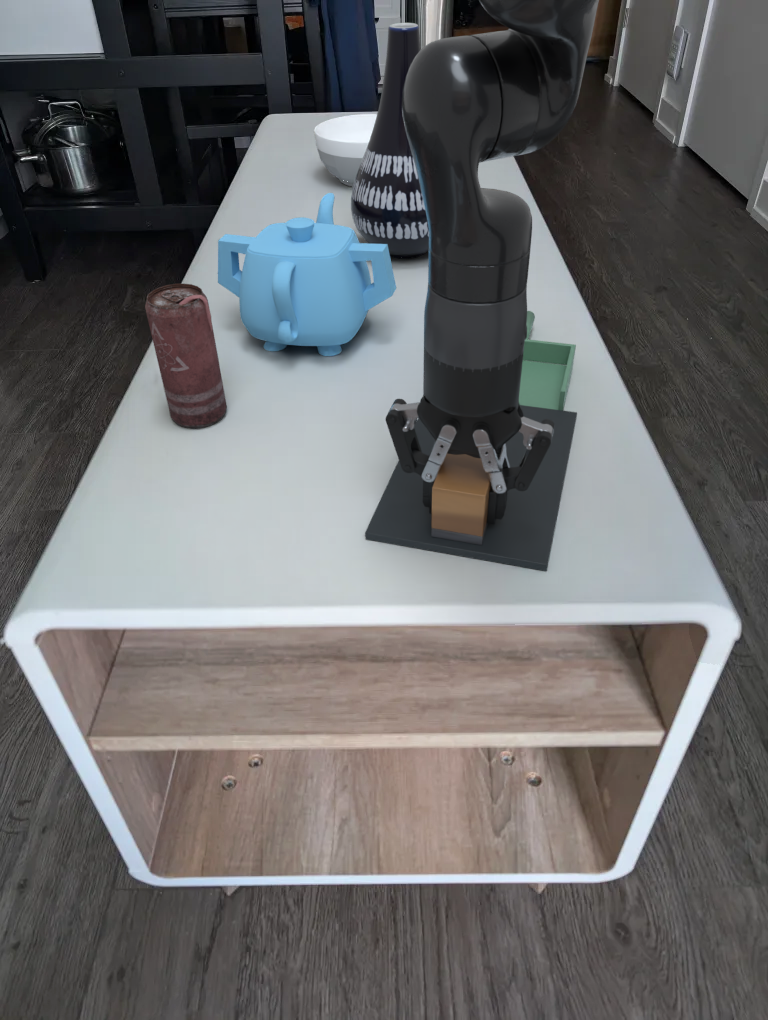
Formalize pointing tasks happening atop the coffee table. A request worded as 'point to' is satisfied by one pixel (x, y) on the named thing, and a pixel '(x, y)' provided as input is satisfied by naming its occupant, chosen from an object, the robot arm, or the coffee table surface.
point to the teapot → (305, 281)
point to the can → (186, 354)
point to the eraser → (460, 500)
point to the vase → (392, 163)
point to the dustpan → (545, 371)
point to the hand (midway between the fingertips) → (464, 512)
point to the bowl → (344, 144)
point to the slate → (509, 539)
